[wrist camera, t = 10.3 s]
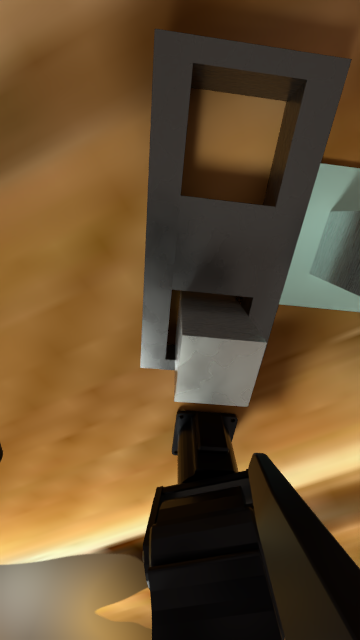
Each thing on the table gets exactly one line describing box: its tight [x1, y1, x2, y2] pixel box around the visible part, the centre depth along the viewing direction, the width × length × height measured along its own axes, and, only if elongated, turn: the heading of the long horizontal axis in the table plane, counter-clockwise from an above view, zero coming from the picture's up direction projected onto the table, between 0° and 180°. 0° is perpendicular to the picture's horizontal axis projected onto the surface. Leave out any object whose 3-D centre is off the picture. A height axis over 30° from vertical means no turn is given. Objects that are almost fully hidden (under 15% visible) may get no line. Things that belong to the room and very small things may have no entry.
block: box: [174, 290, 267, 407], centre depth 17 cm, size 4×4×8 cm
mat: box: [279, 163, 360, 312], centre depth 18 cm, size 10×8×1 cm
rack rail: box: [140, 29, 352, 376], centre depth 17 cm, size 20×10×2 cm, turn 174°
